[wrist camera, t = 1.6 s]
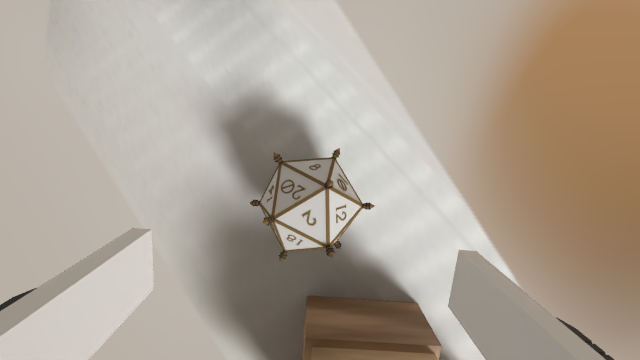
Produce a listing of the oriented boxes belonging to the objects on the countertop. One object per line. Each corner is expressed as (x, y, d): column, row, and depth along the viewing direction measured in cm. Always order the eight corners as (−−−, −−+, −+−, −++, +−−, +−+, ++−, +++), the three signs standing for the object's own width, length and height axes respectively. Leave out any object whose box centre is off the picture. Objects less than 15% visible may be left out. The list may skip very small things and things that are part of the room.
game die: (293, 191, 31) (207, 218, 23) (332, 123, 27) (244, 128, 19) (354, 256, 28) (279, 312, 20) (409, 190, 24) (342, 229, 16)
